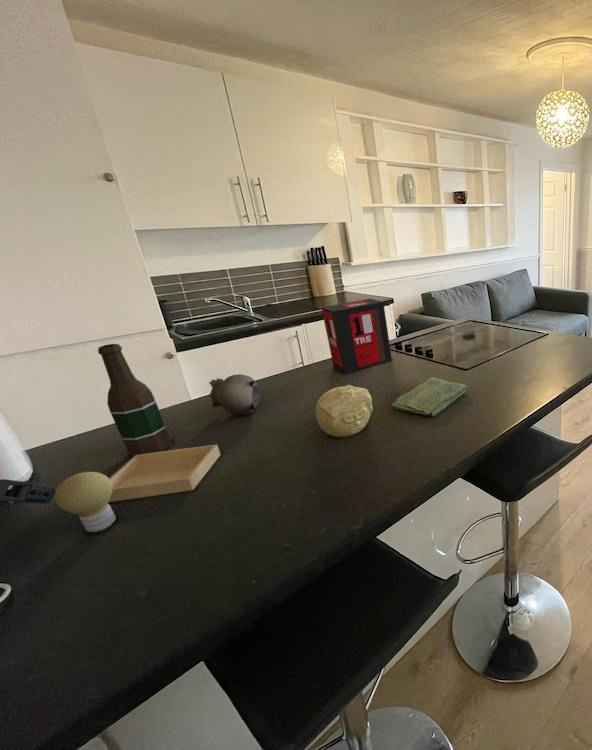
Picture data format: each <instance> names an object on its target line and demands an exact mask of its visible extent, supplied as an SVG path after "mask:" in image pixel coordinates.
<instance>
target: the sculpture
mask: <svg viewBox="0 0 592 750" xmlns="http://www.w3.org/2000/svg"><path fill="white" fill-rule="evenodd" d="M372 401H373V400H372V396H371V395H370V391H369V390H368V389H367V388H364V387H358V386H353V385H352V384H346V385H345V386H337V387H334V388H332V389H329V390H327V391H326V392H324V393H323V394H322V395H320V397H319V399H318V401H317V403H316V406H315V418H316V421H317V424H318V426H319V427H320V429H321V430H322V431H323V433H325V434H327V435H329V436H332V437H336V438H346V437H351V436H353V435H355V434H358V433H359V432H361V431H362V430H364V429H365V427H366V426H367V424H368V422H369V421H370V417H371V414H372V412H373V410H374V409H373V404H372V403H373V402H372Z"/></svg>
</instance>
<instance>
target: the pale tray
mask: <svg viewBox="0 0 592 750" xmlns="http://www.w3.org/2000/svg"><path fill="white" fill-rule="evenodd" d="M221 456H222V454H221V452H220V449H219V446H218V444H210V445H202V446H195V447H187V448H179V449H172V450H163V451H162V452H154V453H147V454H139V455H135V456H134V457H131V458H130V459H129V460H128V461H127V462H125V464H123V465H122V466H121V467H120V468H119V469H118V470H117V471H115V472H114V473H113V474H112V475H111V476H110V477H108V478H109V479H110V481H111V483H112V486H113V490H112V495H111V497H110V499H109V501H108V503H113V502H121V501H128V500H134V499H141V498H149V497H154V496H161V495H162V496H163V495H168V494H175V493H176V494H177V493H182V492H183V493H184V492H189V491H190V492H191V491H194V490H195V488H196V487H197V486H198V485H199V483H201V481H202V480H203V478H204V477H205V476H206V474H207V473H208V472H209V471H210V469H211V468H212V467H213V466H214V464H215V463H216V462H217V460H218V459H219V457H221Z"/></svg>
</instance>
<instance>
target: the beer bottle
mask: <svg viewBox="0 0 592 750" xmlns="http://www.w3.org/2000/svg"><path fill="white" fill-rule="evenodd" d="M122 347H123V346H121V345H120V344H119V343H110V344H104V345H101V346H98V348H97V353H98V355H100V356H101V359H102V361H103V365H104V368H105V370H106V373H107V376H108V379H109V384H110V387H109V389H108V392H107V406H108V410H109V413H110V416H111V417H112V419H113V422H114V423H115V426H116V428H117V430H118V433H119V436H120V438H121V440H122V442H123V444H124V446H125V449H126V451H127V452H128V454H129V456H130V457H131V458H133V457H134V456H135V455H139V454H147V453H154V452H162V451H166V449H168V448H169V447H171V446H172V442H171V438H170V434H169V432H168V429H167V425H166V424H165V422H164V418H163V415H162V414H161V412H160V409H159V406H158V403H157V401H156V399H155V395H154V394H153V392H152V390H151V389H150V387H148V385H146V384H145V383H144V382H142V381H141V380H139V379H137V378H136V376H135V375H134V374H133V372H132V370H131V368H130V365H129V363H128V362H127V359H126V358H125V355H124V354H123V352H122V350H123V348H122Z"/></svg>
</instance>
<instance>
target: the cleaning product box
mask: <svg viewBox="0 0 592 750" xmlns="http://www.w3.org/2000/svg"><path fill="white" fill-rule="evenodd" d="M321 313H322V315H323V316H322V317H323V322H324V327H325V332H326V337H327V342H328V347H329V351H330V356H331V360H332V365H333V368H334V369H336V370H338V371H339V372H340V373H342V374H344V375H347V374H350V373H353V372H356V371H357V372H358V371H360V370H363V369H367V368H371V367H374V366H378V365H381V364H384V363H388V362H391V361H393V359H392V352H391V344H390V337H389V332H388V331H389V330H388V324H387V318H386V311H385V304H384V301H381V300H378V299H375V298H366V299H360V300H356V301H355V300H354V301H349V302H344V303H338V304H332V305H327V306H321Z"/></svg>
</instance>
